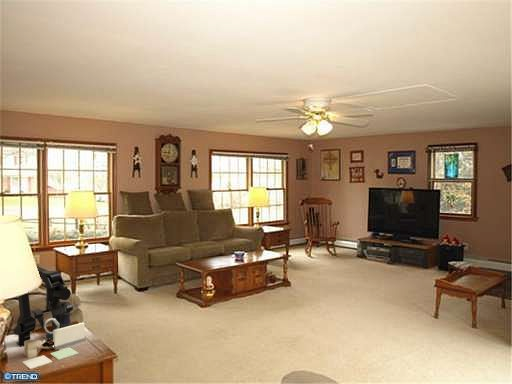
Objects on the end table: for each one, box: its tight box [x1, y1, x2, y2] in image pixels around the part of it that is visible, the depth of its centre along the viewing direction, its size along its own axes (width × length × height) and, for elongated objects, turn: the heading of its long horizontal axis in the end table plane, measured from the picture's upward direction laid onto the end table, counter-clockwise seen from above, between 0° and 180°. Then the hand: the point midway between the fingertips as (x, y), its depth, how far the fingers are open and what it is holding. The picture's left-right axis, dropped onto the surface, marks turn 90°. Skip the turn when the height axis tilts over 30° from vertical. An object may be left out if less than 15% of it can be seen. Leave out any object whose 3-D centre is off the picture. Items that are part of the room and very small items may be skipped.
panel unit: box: [53, 321, 87, 351], centre depth 226 cm, size 12×16×10 cm
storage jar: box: [51, 301, 71, 331], centre depth 243 cm, size 10×10×15 cm
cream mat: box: [21, 354, 53, 370], centre depth 202 cm, size 10×10×1 cm
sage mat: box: [49, 346, 79, 361], centre depth 211 cm, size 10×10×1 cm
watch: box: [43, 317, 60, 340], centre depth 231 cm, size 6×8×11 cm
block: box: [23, 338, 38, 359], centre depth 210 cm, size 5×4×7 cm
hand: (52, 326), depth 212 cm, fingers open, 9 cm apart
